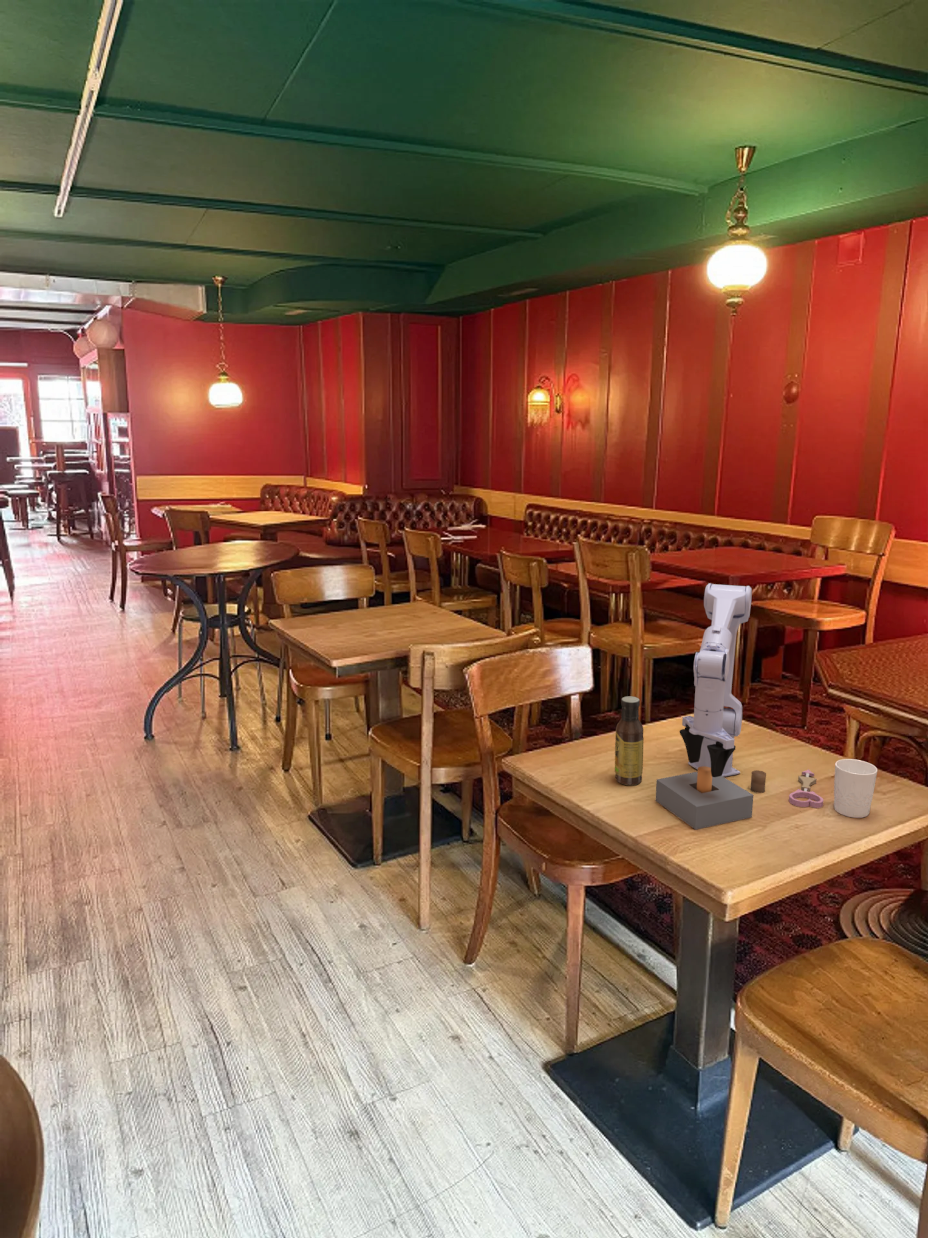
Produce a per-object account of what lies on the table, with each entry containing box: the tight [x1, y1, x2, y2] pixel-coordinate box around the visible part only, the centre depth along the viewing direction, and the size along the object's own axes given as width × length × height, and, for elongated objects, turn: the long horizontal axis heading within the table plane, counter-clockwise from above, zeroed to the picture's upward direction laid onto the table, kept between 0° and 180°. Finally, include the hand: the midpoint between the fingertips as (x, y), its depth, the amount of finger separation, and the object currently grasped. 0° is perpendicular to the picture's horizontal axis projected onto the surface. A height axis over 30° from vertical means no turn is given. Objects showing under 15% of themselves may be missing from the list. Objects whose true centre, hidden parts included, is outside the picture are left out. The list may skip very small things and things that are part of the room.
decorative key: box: [788, 768, 824, 809], centre depth 181 cm, size 7×1×20 cm
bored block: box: [655, 771, 754, 830], centre depth 172 cm, size 14×14×5 cm
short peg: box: [750, 770, 767, 794], centre depth 180 cm, size 3×3×4 cm
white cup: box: [833, 758, 878, 819], centre depth 169 cm, size 8×8×10 cm
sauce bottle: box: [614, 695, 645, 786], centre depth 184 cm, size 6×6×20 cm
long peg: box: [697, 766, 712, 793], centre depth 171 cm, size 3×3×9 cm
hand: (705, 768), depth 170 cm, fingers open, 7 cm apart
